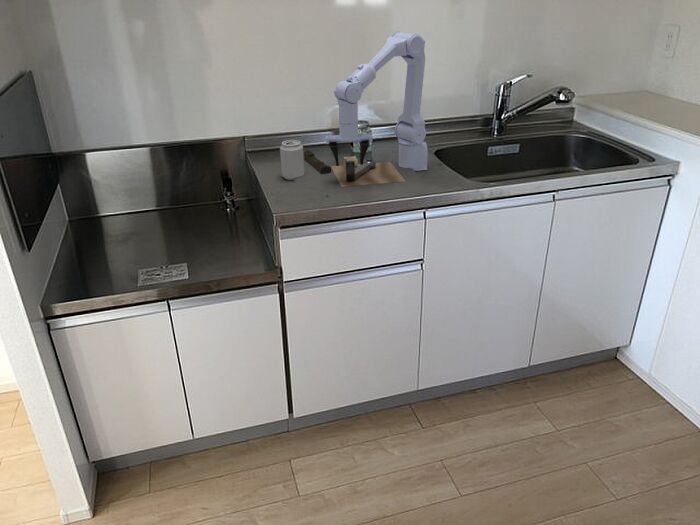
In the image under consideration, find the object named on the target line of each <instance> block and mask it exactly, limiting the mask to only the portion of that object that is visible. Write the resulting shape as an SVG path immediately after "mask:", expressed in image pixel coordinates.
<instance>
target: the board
mask: <svg viewBox="0 0 700 525" xmlns="http://www.w3.org/2000/svg"><path fill="white" fill-rule="evenodd" d="M349 158H356V159H357V157H356V156H355V155H354V156H343V165H339V166H336V165H331V166H330V167H331V170H332V171H333V173H334V175H335V178H337V181H338V183H339V186H340V187H341V188H343V187H355V186H356V187H358V186H367V185H368V186H369V185H382V184H394V183H402V182H403V183H404V182H407V181H406V179H405V178H404V177H403V175H401V173H400V172H399V170H397V168H396V167H395V166H394V164H393V163H392V162H391V161H382V162H381V161H380V162H376V168H374V169H369V170H368V171H366V172H365V173H364V174H362V175H361V176H359V177H358V178H356V179H355V180H354V181H346V161H347V159H349ZM359 165H361V164H360V163H358V166H359Z"/></svg>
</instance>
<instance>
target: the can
mask: <svg viewBox="0 0 700 525" xmlns="http://www.w3.org/2000/svg"><path fill="white" fill-rule="evenodd" d="M301 143H302V141H300V140H298V139H288V140H283V141H282V142H281V146H280V147H279V153H280V167H281V169H280V170H281V177H283V178H284V179H285V180H288V181H296V179H295V178H300V177H302V176H304V175H305V164H304V163H305V162H304V160H305V157H304V146H303V145H302V144H301Z"/></svg>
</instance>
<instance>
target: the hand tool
mask: <svg viewBox="0 0 700 525" xmlns="http://www.w3.org/2000/svg"><path fill="white" fill-rule="evenodd" d="M303 156H304V160H305V161H306V162H307V163H308V165H310V166H311V167H313V169H315V170H316V171H318V172H319V174H320V175H326V174H331V173H332V168H331V166H329V165H326V164H325V162H324V161H321V160H320V159H319V158H317V157H316V155H315V153H314V152H312V151H310V150H305V151H303Z"/></svg>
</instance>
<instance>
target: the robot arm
mask: <svg viewBox="0 0 700 525" xmlns="http://www.w3.org/2000/svg"><path fill="white" fill-rule="evenodd" d="M425 44H426V41H425V39H424V38H423V36H421V35H420V34H418V33H409V32H401V31H399V30H397V31H394V32H393V33H392V34H391V35H390V36H389V37H388V38H387V39H386V43H385V44H384V45H383V46H382V48H381V49H380V50H379V51H378V52H377V53H376V54H375V55H374V56H373V58H372V59H371V60H369V62H368V63H362V64H359V65H358V66H357V67H356V68H357V69H356V70H354V72H353V73H352V74H351V75H349V76H347V77H346V80H342V81H340V82H338V83H337V85H336V87H335V90H334V91H333V93H334V97H335V98H336V100H337V104H338V123H339V124H338V128H339V130H338V131H339V134H334V135H333V134H332V135H327V136H325V137H324V138H325V140H324V141H325V144H326V145H329V149H330V150H331V153H332V154H333V157H334V160H335V166H340V164H339V146H338V144H343V143H344V144H345V143H346V144H347V143H359V164H361V165H363V160H365V156H366V153H367V151H368V149H369V148H370V143H373V134H372V133H359V131H358V130H359V122H358V121H359V115H358V114H359V110H358V109H359V108H358V106H359V104H358V102H359V101H360V100H361V98H362V95H363V92H364V91H365V89H366V88H367V87H368V86H369V85H370V84H371V83H372V82H374V80H375V79H376V76H377V72H379V70H381V69H382V68H383V67H384V66H385V65H387V63H388V62H390V61H391V60H392V59H394V58H395V57H401V58H402V59H403V60H404V62H406V63H407V67H406V78H405V88H404V99H403V100H404V101H403V110H402V114H400V115H399V116H398V117H397V123H396V125H395V127H394V136H395V137H396V138H397V142H398V166H399V167H401V168H404V169H412V170H413V171H414V172H419V171H420V172H421V171H428V152H429V151H428V144H427V143H426V141H424V140H425V138H426V136H427V135H426V134H427V131H426V121H425V120H424V118H423V117H422V115H421V107H422V106H421V103H422V96H423V86H424V78H425V77H424V76H425V66H426V55H425V48H426V47H425V46H426V45H425Z"/></svg>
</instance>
